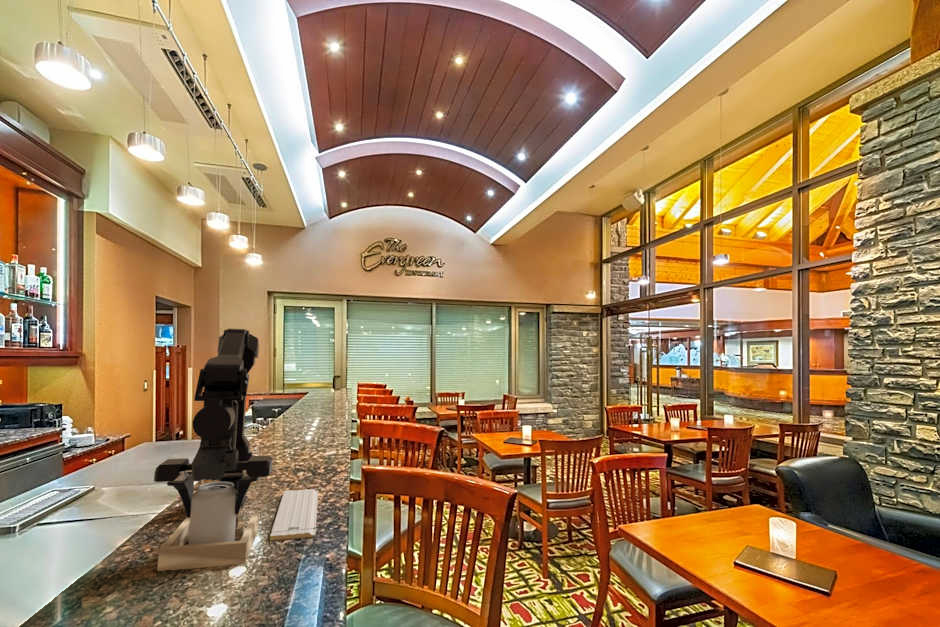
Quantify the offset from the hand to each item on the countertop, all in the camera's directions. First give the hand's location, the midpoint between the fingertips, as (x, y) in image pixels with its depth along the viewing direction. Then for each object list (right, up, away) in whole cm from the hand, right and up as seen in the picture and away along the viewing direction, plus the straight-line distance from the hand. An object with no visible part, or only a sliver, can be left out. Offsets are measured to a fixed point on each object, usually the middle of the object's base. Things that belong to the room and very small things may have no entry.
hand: (213, 515), depth 85 cm
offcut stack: (-2, -7, +6) cm, 10 cm away
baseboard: (+8, -9, +21) cm, 24 cm away
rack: (-1, -7, +1) cm, 7 cm away
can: (0, -7, -1) cm, 7 cm away
